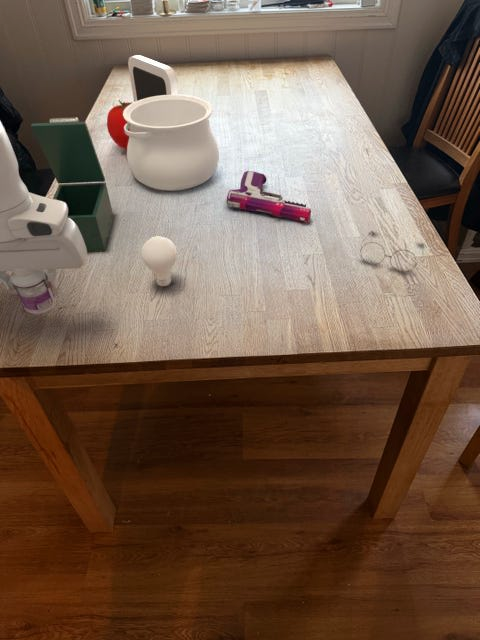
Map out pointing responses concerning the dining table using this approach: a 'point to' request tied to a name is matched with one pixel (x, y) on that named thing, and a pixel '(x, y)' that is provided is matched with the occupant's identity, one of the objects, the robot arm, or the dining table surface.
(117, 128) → the tomato
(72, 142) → the lid
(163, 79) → the computer
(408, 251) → the eyeglasses
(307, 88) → the dining table surface
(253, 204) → the toy gun
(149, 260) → the light bulb
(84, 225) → the chest
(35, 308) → the pill bottle
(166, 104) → the pot
